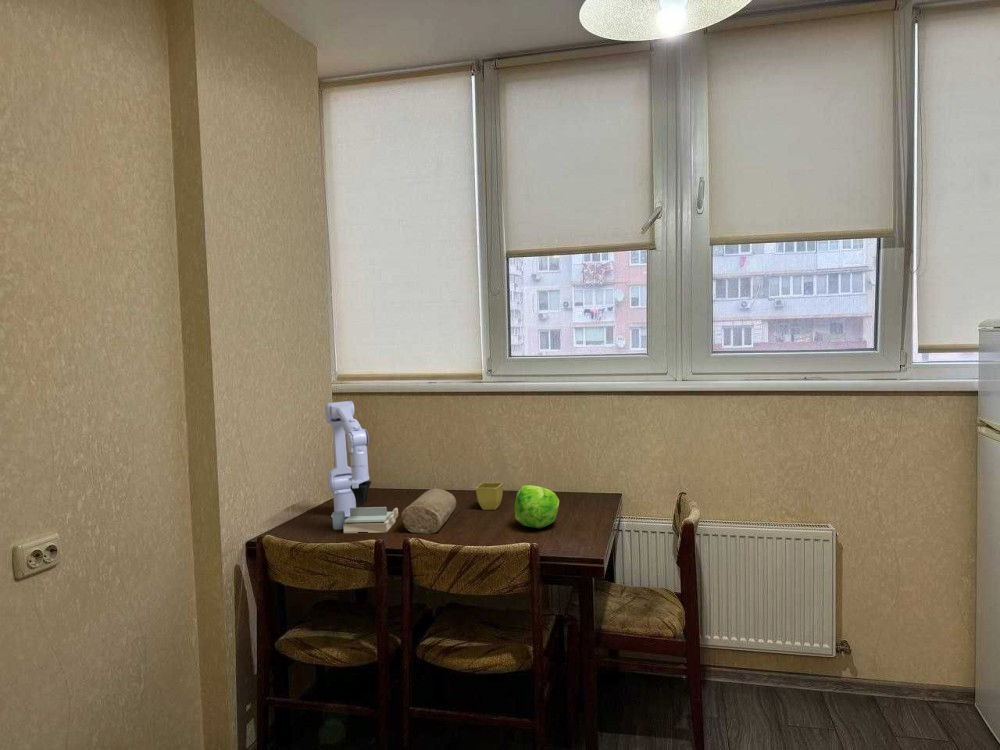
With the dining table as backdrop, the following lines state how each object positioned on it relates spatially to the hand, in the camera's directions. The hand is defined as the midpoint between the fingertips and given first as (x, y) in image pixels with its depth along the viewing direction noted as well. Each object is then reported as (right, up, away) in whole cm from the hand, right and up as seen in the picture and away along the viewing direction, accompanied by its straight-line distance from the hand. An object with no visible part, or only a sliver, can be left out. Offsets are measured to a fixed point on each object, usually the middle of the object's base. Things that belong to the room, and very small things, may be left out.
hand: (362, 504), depth 227 cm
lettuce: (+61, -7, -2) cm, 61 cm away
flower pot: (+44, -7, +24) cm, 50 cm away
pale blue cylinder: (-10, -10, +8) cm, 16 cm away
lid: (+1, -6, +6) cm, 9 cm away
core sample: (+23, -9, +8) cm, 26 cm away
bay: (+2, -9, +10) cm, 14 cm away
